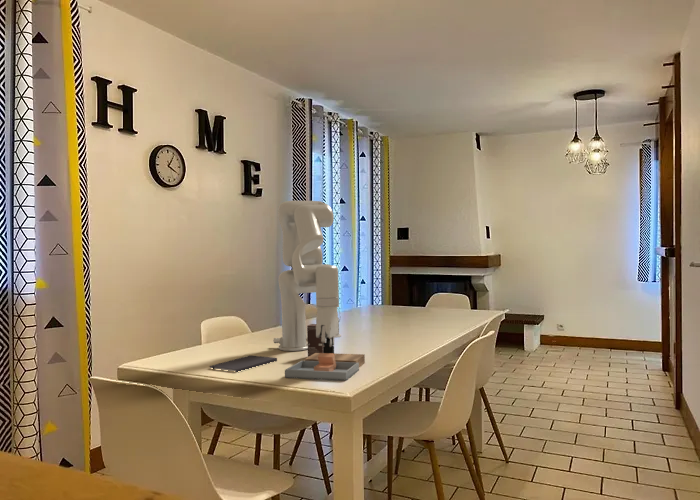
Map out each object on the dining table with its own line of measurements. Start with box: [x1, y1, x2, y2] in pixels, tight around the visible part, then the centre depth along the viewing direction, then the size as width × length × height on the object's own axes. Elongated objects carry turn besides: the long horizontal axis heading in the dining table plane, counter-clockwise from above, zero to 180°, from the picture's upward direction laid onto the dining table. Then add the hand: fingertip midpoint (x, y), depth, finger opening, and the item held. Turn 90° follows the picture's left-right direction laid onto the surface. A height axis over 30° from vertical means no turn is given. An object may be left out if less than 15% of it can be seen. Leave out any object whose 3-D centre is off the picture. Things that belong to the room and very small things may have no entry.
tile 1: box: [314, 364, 334, 371], centre depth 182 cm, size 5×5×2 cm
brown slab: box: [304, 352, 366, 368], centre depth 193 cm, size 18×11×3 cm, turn 74°
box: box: [306, 323, 323, 357], centre depth 208 cm, size 6×4×12 cm
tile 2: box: [318, 352, 336, 370], centre depth 185 cm, size 5×5×2 cm
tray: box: [284, 360, 360, 382], centre depth 181 cm, size 20×14×2 cm
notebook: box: [208, 354, 278, 373], centre depth 198 cm, size 13×2×21 cm
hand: (328, 358), depth 187 cm, fingers closed
